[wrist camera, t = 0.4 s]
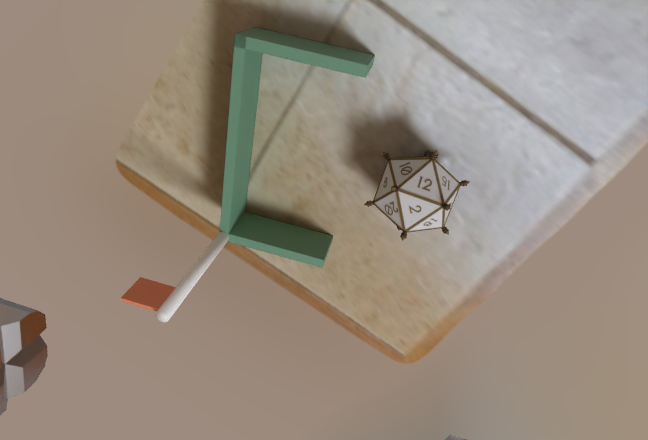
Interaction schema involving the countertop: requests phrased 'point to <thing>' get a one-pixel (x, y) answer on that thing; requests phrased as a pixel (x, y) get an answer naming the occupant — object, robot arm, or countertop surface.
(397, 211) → the game die
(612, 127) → the countertop surface
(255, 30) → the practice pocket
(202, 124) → the countertop surface
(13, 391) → the robot arm
